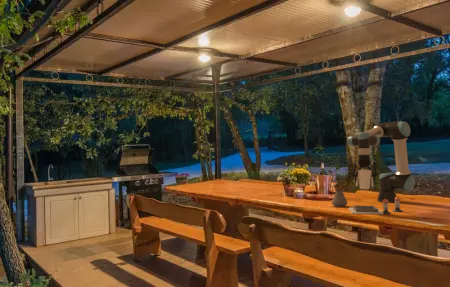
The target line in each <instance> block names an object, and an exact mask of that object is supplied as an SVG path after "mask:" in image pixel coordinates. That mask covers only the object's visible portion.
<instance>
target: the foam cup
mask: <svg viewBox="0 0 450 287" xmlns="http://www.w3.org/2000/svg"><path fill="white" fill-rule="evenodd" d="M372 170H373V169H371V170H368V169H361V170H358V169H357V170H356V172H357V171H358V175H357V177H358V186H359V189H360V190H369V189H370V187H371V186H370V185H371V177H372V175H371V174H372V172H373V171H372Z"/></svg>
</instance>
